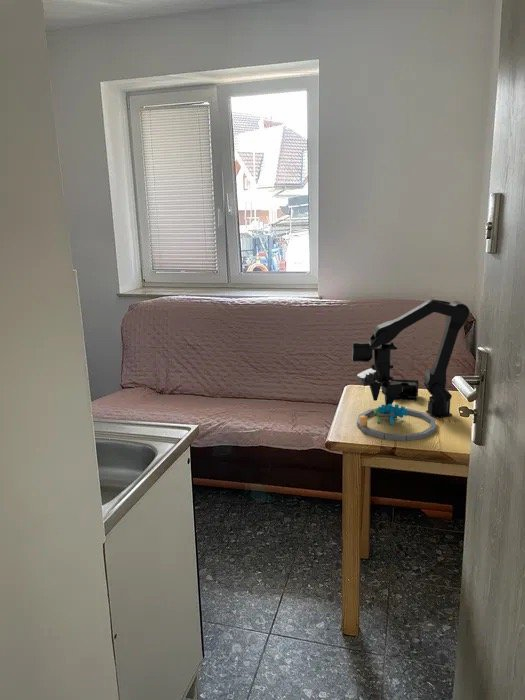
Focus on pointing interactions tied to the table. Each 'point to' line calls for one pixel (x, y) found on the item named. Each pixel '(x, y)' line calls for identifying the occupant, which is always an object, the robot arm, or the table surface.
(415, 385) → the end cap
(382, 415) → the blue spiky figure
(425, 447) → the table surface
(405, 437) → the ring
